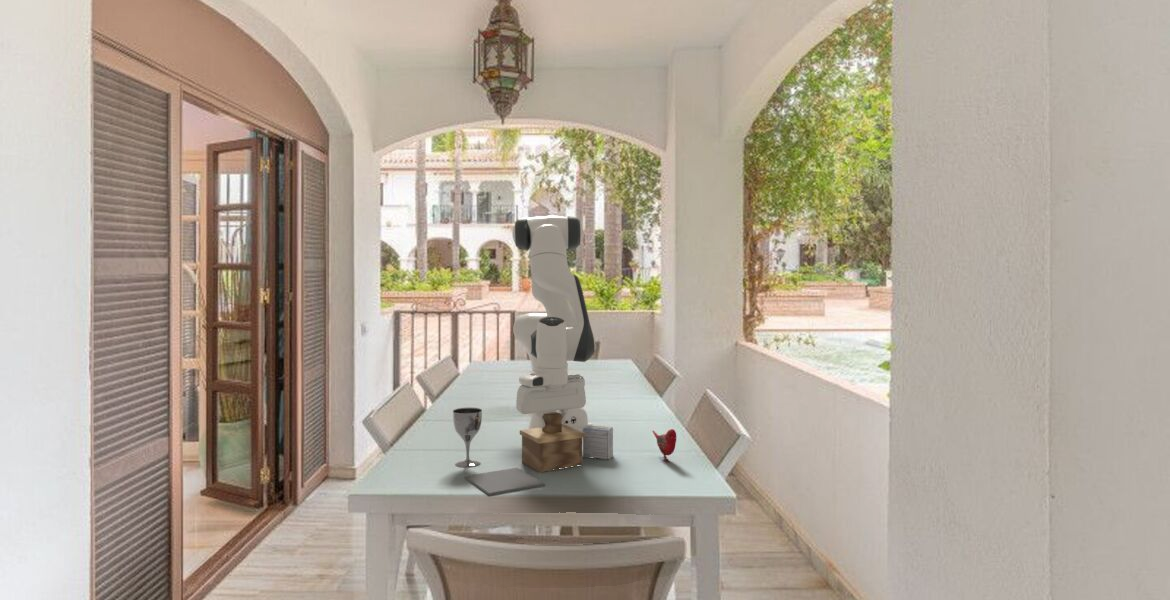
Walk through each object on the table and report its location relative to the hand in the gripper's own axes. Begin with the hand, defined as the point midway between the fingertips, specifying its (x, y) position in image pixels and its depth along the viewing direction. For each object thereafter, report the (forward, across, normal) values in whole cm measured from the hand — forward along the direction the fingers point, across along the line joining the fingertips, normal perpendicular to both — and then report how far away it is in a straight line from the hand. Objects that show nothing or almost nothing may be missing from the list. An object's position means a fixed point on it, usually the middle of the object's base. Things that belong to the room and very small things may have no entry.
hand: (551, 426), depth 199 cm
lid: (+3, 0, 0) cm, 3 cm away
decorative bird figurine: (+11, -30, +11) cm, 34 cm away
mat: (+11, +18, +8) cm, 22 cm away
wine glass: (+11, +20, -12) cm, 26 cm away
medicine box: (+11, -15, 0) cm, 19 cm away
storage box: (+11, 0, 0) cm, 11 cm away
